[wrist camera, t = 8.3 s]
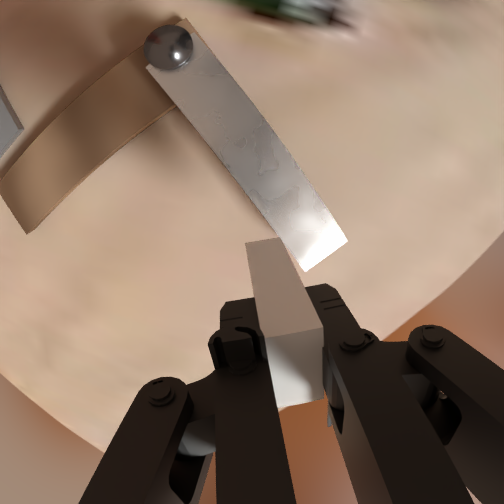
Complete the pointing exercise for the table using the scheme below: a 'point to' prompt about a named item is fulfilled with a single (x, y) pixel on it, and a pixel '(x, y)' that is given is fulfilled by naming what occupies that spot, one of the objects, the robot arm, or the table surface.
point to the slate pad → (8, 124)
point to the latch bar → (243, 142)
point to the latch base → (85, 137)
